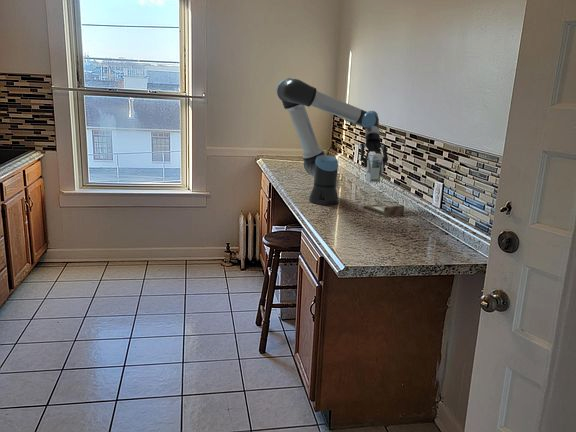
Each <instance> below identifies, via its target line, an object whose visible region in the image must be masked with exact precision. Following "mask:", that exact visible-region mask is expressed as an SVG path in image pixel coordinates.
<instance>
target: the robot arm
mask: <svg viewBox="0 0 576 432" xmlns="http://www.w3.org/2000/svg"><path fill="white" fill-rule="evenodd" d="M276 95H277V97H278V99H279V100H280V101H281V102H282V106H283V108H284V110H286V111H287V112H288V113H289V116H290V118H291V121H292V124H293V126H294V130H295V132H296V134H297V139H298V140H299V141H298V142H299V143H300V145H301V149H302V151H303V154H302V160H303V168H304V170H305V172H306V173H307V174H308V175H310V176H311V177H313V186H312V189H311V193H310V195H309V197H308V200H309V201H308V202H310V203H312V204H316V205H323V206H334V205H337V204H338V203H339V197H338V191H337V180H338V170H339V161H338V159H337V158H336V157H334V156H331V155H325V151H324V150H323V148H322V147H319V144H318V141H317V138H316V135H315V132H314V129H313V127H312V123H311V120H310V118H309V114H308V112H307V109H306V107H308V108H310V107H311V106H312V107H314V108H317V109H319V110H322V111H323V112H325V113H329V114H331V115H334V116H337V117H339V118H341V119H344V121H345V122H347V123H349V124H353V125H355V126H356V125H357V126H359V127H360V128H361V127H362V128H364V133H365V143H363V142H362V143H360V146H359V147H360V161H361V162H363V164H364V165H363V167H364V168H365V169H366V171H367V173H368V172H369V160H368V153H379V154H382V155H383V159H382V167H381V175H383V173H384V169H385V167H386V164H387V163H388V162H389V157H388V152H387V145H385V144H384V145H382V143H381V134H380V120H379V115H378V113H377V112H376V111H375V110H368V111H366V110H364V109H361V108H359V107H357V106H354V105H351V104H349V103H347V102H345V101H342V100H339V99H338V98H335V97H334V96H330V95H327V94H325V93H323V92H320V91H318V89H317V87H314V86H312V85H311V84H308V83H306V82H304V81H302V80H300V79H298V78H297V79H296V78H290V77H289V78H285V79H282V80H281V81H280V82H279V83H278V85H277V88H276ZM305 106H306V107H305ZM365 149H367V152H366V155H365ZM364 156H365V157H364Z"/></svg>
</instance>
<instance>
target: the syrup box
mask: <svg viewBox="0 0 576 432" xmlns="http://www.w3.org/2000/svg"><path fill="white" fill-rule="evenodd" d="M383 157H384V156H383V153H382V154H379V153H376V152H370V153H368V158H367V160H369V172H368V173H367V170H366V173H365V181H366V182H368V183H380V182H381V175H382V174H381V167H382V159H383Z"/></svg>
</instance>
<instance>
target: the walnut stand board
mask: <svg viewBox="0 0 576 432" xmlns="http://www.w3.org/2000/svg"><path fill="white" fill-rule="evenodd" d="M363 209H365V210H367V211H370V212H373V213H376V214H378V215H382V216H385V217H390V216H397V215H404V211H405V205H403V204H400V205H393V206H388V205H386V204H382V203H381V204H380V203H379V204H369V205H363Z"/></svg>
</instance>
